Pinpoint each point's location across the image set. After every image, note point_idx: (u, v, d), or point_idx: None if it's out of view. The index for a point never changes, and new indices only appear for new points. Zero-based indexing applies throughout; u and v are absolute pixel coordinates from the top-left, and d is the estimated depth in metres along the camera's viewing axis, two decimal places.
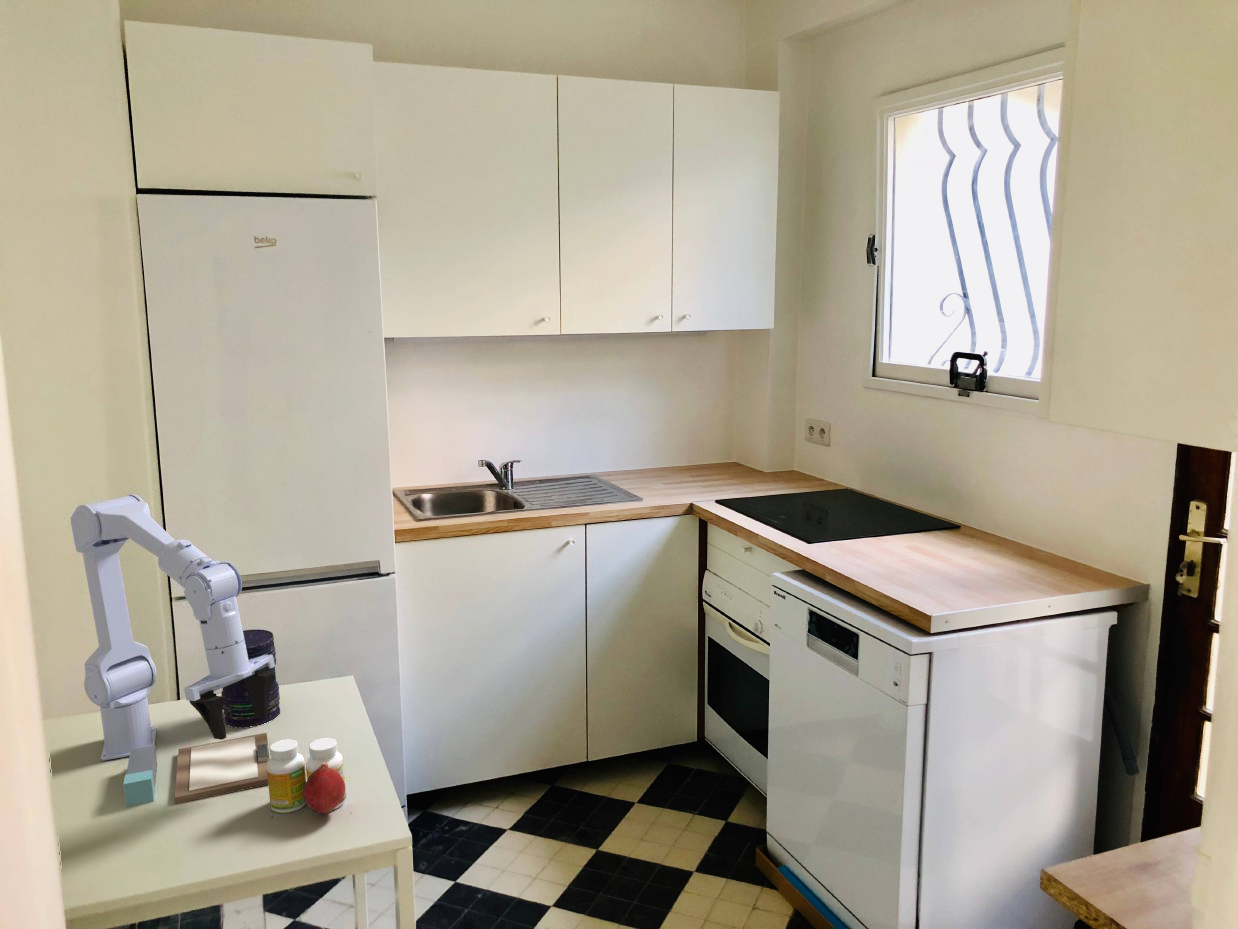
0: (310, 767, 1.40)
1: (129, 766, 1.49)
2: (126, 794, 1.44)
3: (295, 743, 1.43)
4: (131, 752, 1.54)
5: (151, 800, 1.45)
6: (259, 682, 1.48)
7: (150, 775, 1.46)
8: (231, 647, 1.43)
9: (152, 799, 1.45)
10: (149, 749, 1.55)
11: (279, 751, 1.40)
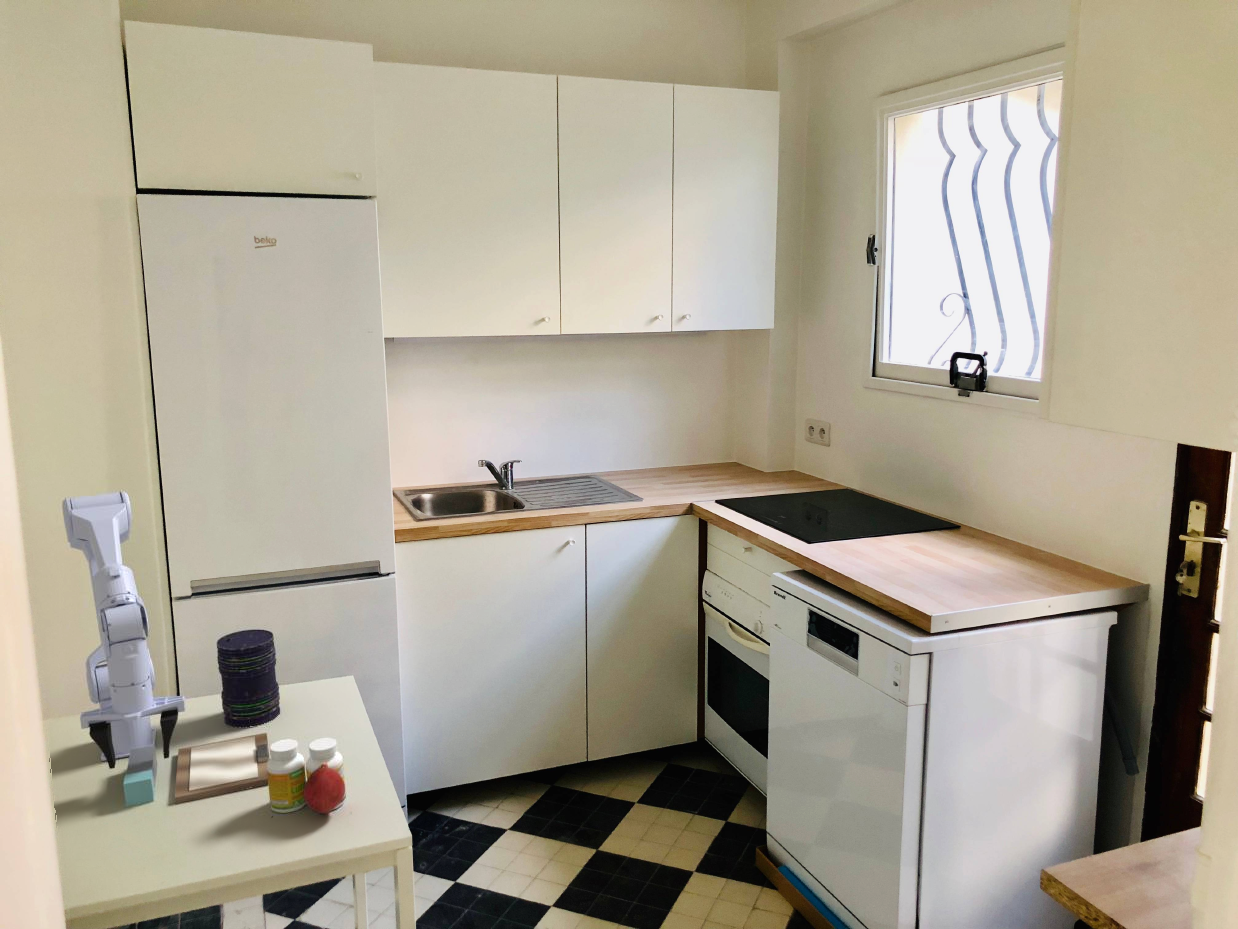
0: (310, 767, 1.40)
1: (129, 766, 1.49)
2: (126, 794, 1.44)
3: (295, 743, 1.43)
4: (131, 752, 1.54)
5: (151, 800, 1.45)
6: None
7: (150, 775, 1.46)
8: (122, 688, 1.44)
9: (152, 799, 1.45)
10: (149, 749, 1.55)
11: (279, 751, 1.40)
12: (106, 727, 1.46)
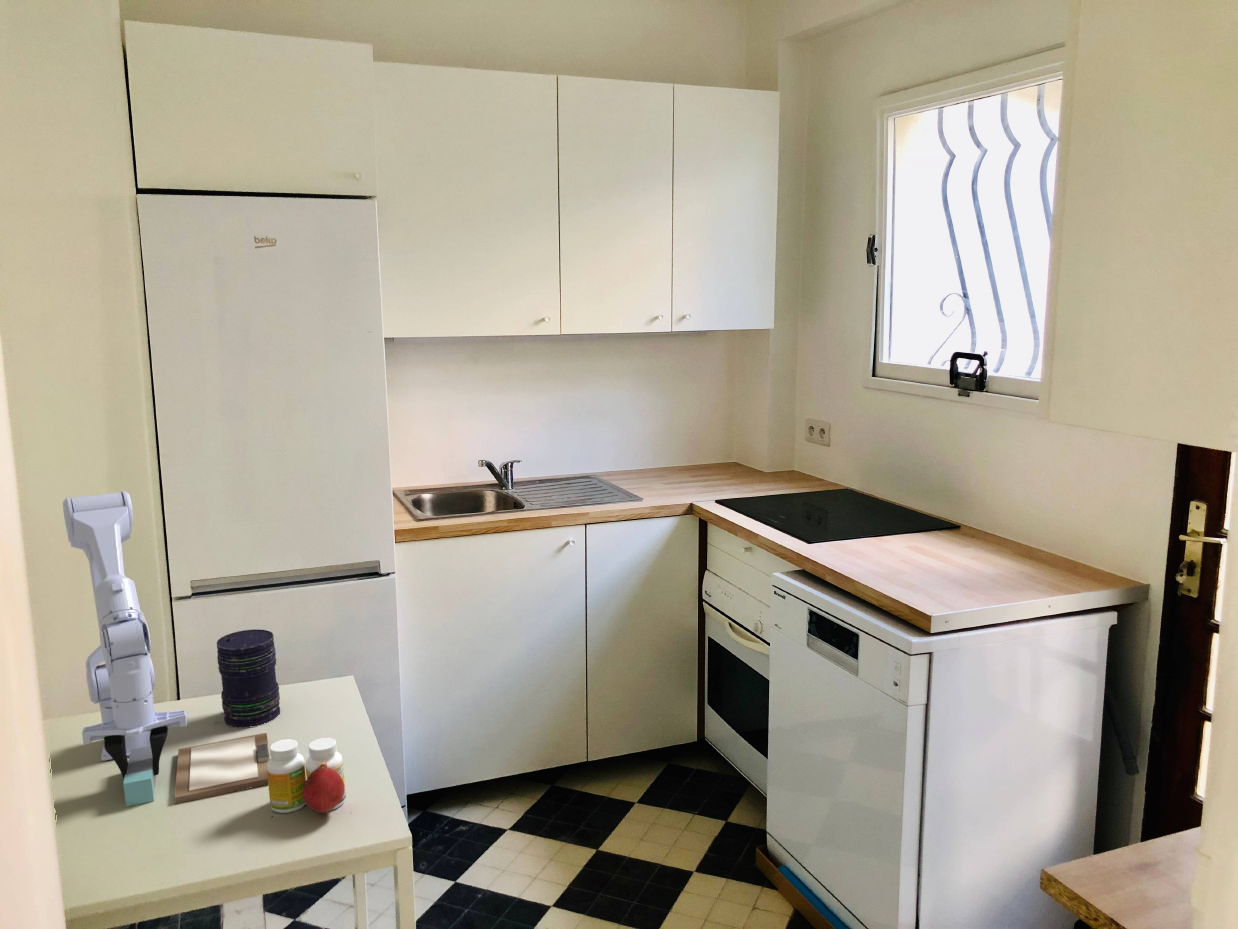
0: (310, 767, 1.41)
1: (129, 766, 1.49)
2: (126, 794, 1.44)
3: (295, 743, 1.43)
4: (131, 752, 1.54)
5: (151, 800, 1.45)
6: None
7: (150, 775, 1.46)
8: (124, 704, 1.45)
9: (152, 799, 1.45)
10: (149, 748, 1.55)
11: (279, 751, 1.40)
12: (120, 740, 1.47)
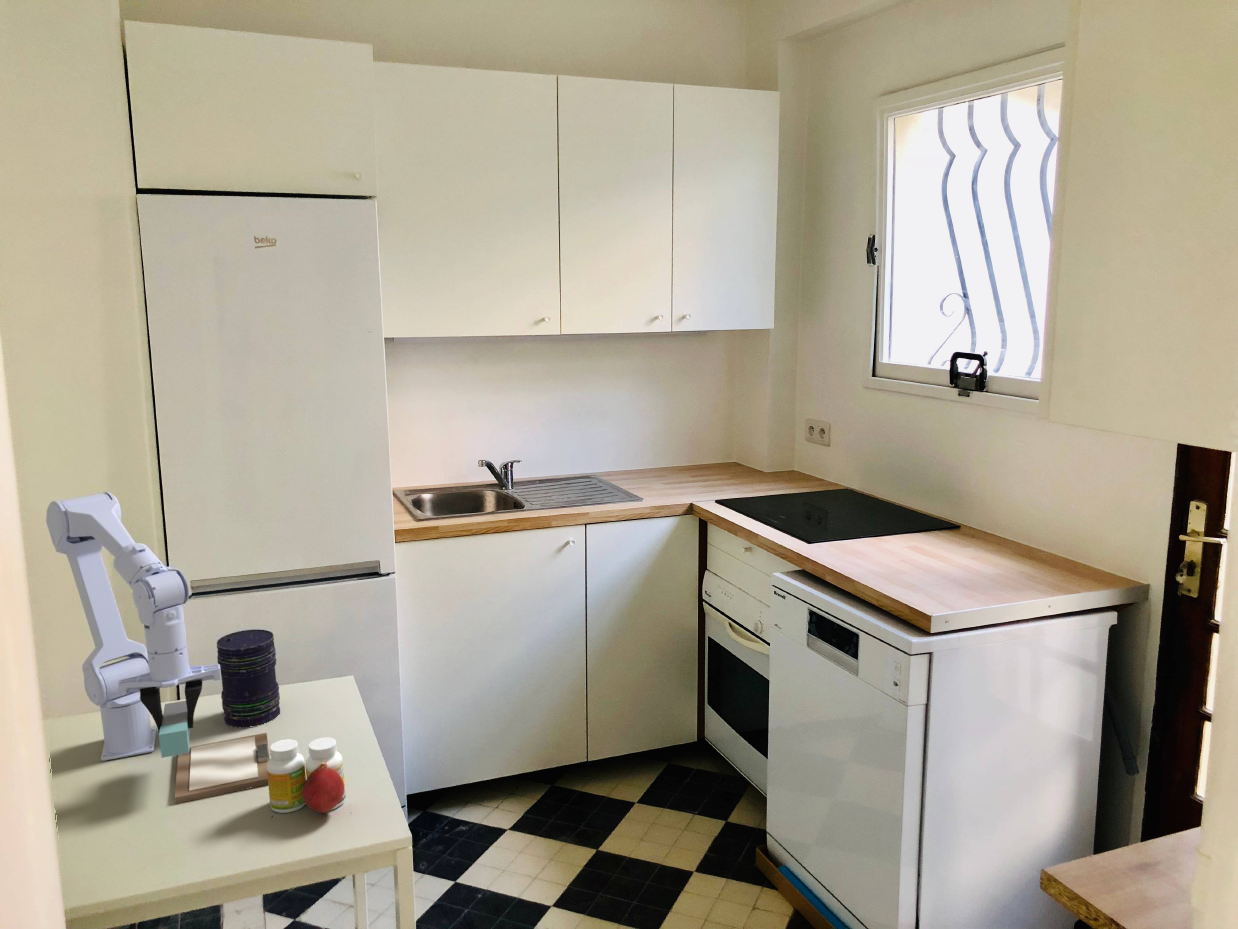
0: (310, 766, 1.41)
1: (164, 719, 1.50)
2: (162, 745, 1.44)
3: (295, 743, 1.43)
4: (165, 706, 1.54)
5: (186, 751, 1.46)
6: None
7: (185, 727, 1.47)
8: (160, 656, 1.46)
9: (187, 750, 1.46)
10: (183, 703, 1.55)
11: (279, 751, 1.40)
12: (156, 692, 1.48)
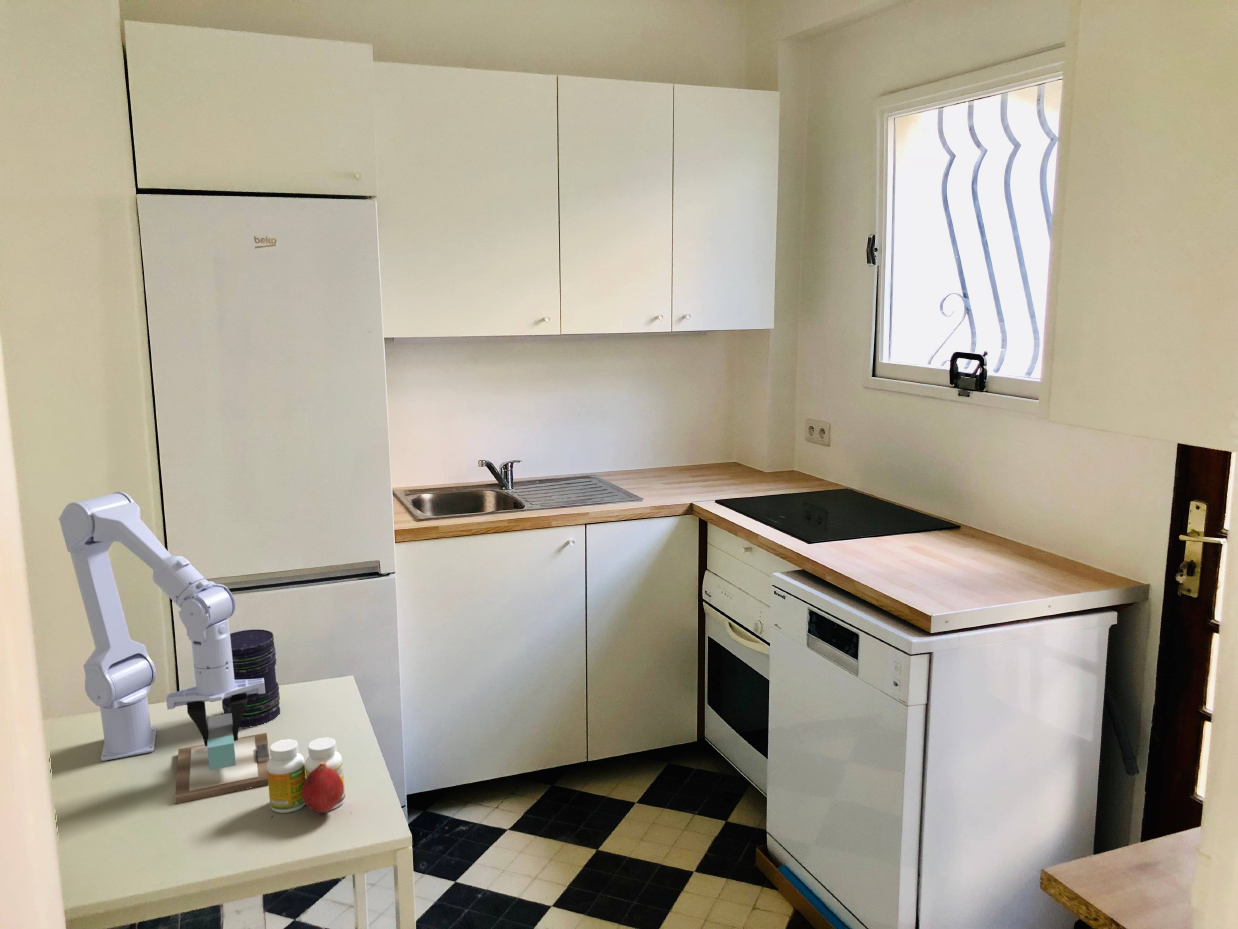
0: (309, 766, 1.41)
1: (210, 732, 1.53)
2: (210, 758, 1.48)
3: (295, 743, 1.43)
4: (209, 719, 1.57)
5: (233, 764, 1.49)
6: None
7: (232, 740, 1.50)
8: (207, 670, 1.49)
9: (234, 763, 1.49)
10: (227, 716, 1.59)
11: (279, 751, 1.40)
12: (202, 706, 1.51)
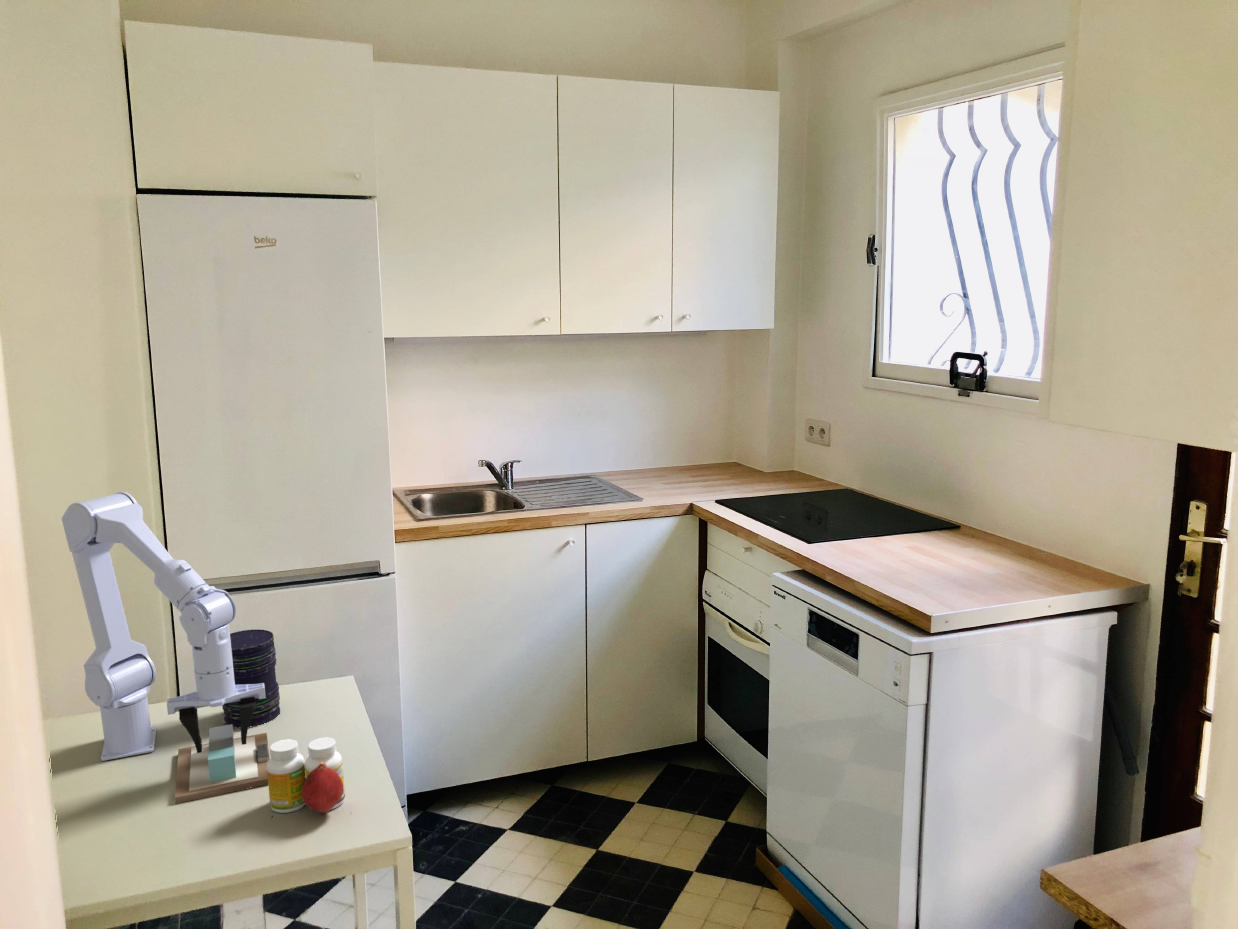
0: (309, 766, 1.41)
1: (210, 743, 1.53)
2: (210, 770, 1.48)
3: (295, 743, 1.43)
4: (210, 730, 1.58)
5: (234, 776, 1.50)
6: None
7: (232, 752, 1.50)
8: (208, 676, 1.49)
9: (235, 775, 1.50)
10: (227, 727, 1.59)
11: (279, 751, 1.40)
12: (195, 712, 1.51)
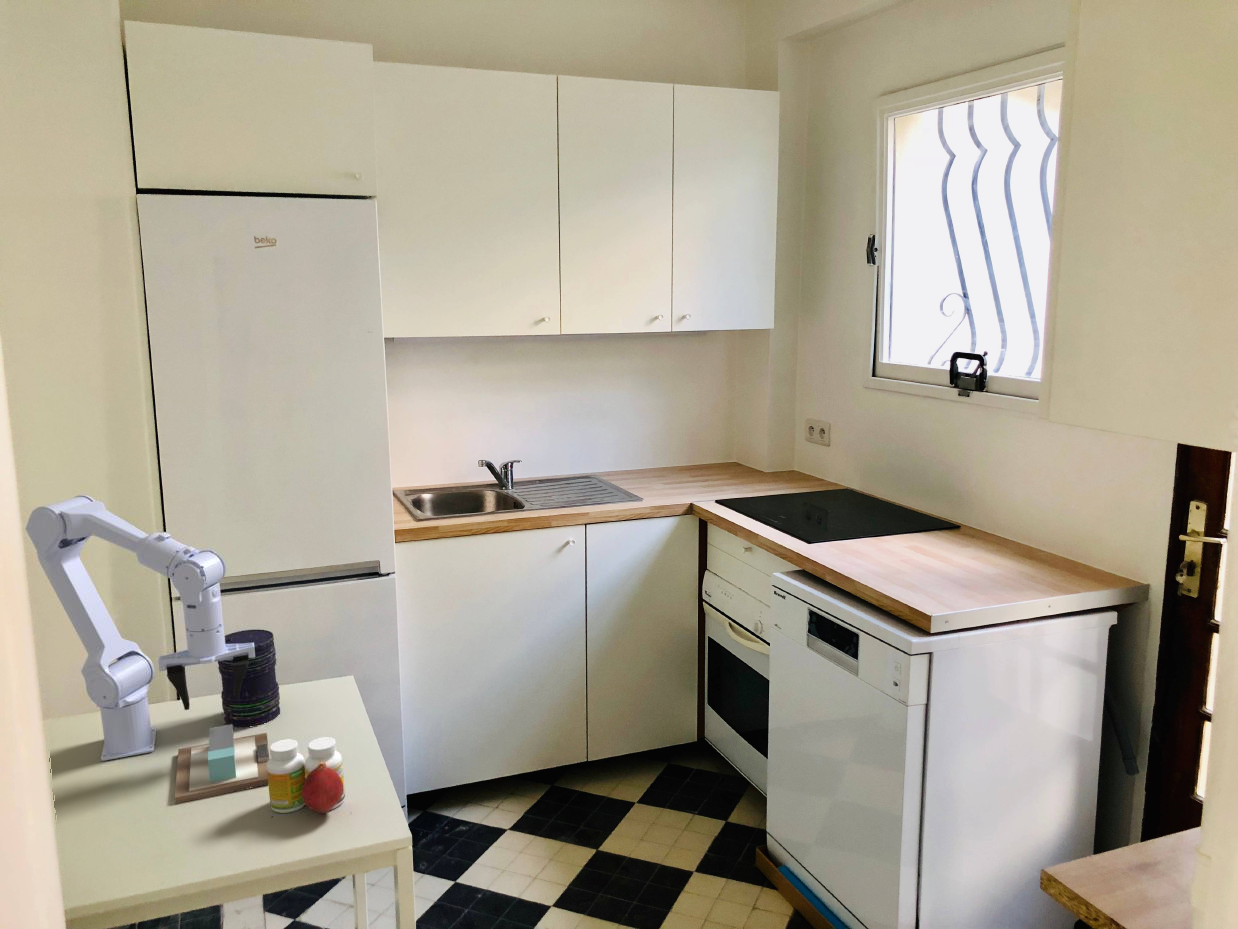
0: (309, 766, 1.41)
1: (210, 743, 1.53)
2: (210, 770, 1.48)
3: (295, 743, 1.43)
4: (210, 730, 1.58)
5: (234, 776, 1.50)
6: None
7: (232, 752, 1.50)
8: (198, 633, 1.52)
9: (235, 775, 1.50)
10: (227, 727, 1.59)
11: (279, 751, 1.40)
12: (182, 670, 1.54)
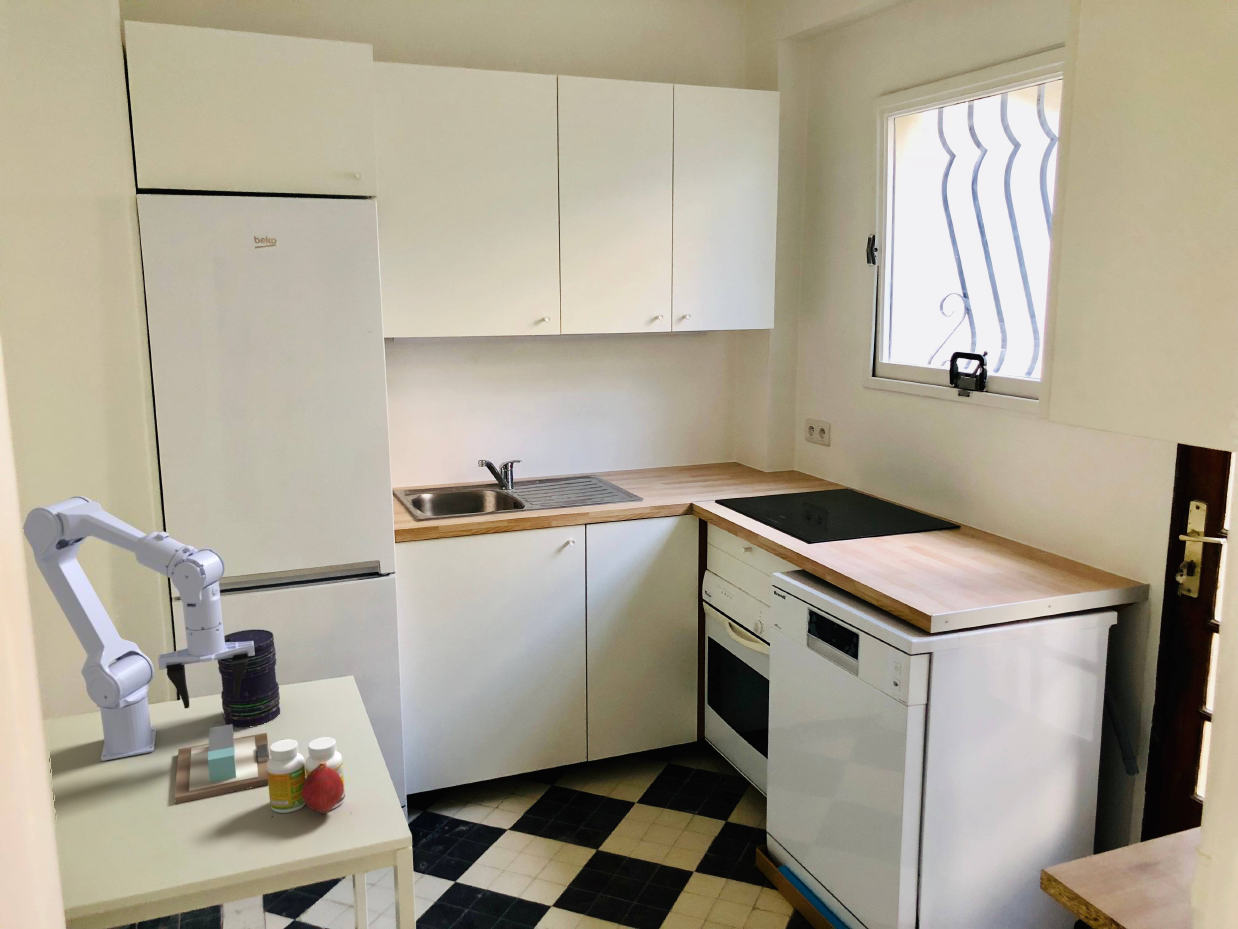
0: (309, 766, 1.41)
1: (210, 743, 1.53)
2: (210, 770, 1.48)
3: (295, 743, 1.43)
4: (210, 730, 1.58)
5: (234, 776, 1.50)
6: None
7: (232, 752, 1.50)
8: (198, 632, 1.53)
9: (235, 775, 1.50)
10: (227, 727, 1.59)
11: (279, 751, 1.40)
12: (182, 669, 1.55)
